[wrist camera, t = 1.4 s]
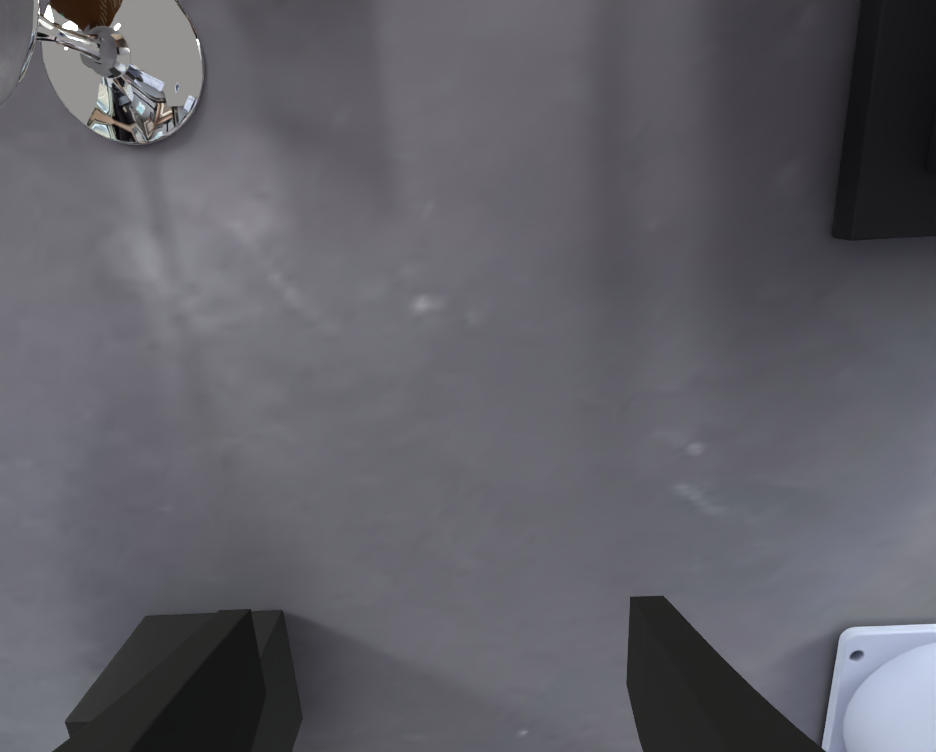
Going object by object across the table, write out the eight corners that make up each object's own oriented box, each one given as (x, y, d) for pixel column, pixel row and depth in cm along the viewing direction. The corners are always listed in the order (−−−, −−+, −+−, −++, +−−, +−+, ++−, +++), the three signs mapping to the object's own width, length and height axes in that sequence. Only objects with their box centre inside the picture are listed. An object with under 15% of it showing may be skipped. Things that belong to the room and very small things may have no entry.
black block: (303, 718, 23) (263, 840, 19) (174, 722, 24) (105, 845, 19) (283, 609, 22) (235, 715, 17) (145, 615, 22) (63, 721, 18)
